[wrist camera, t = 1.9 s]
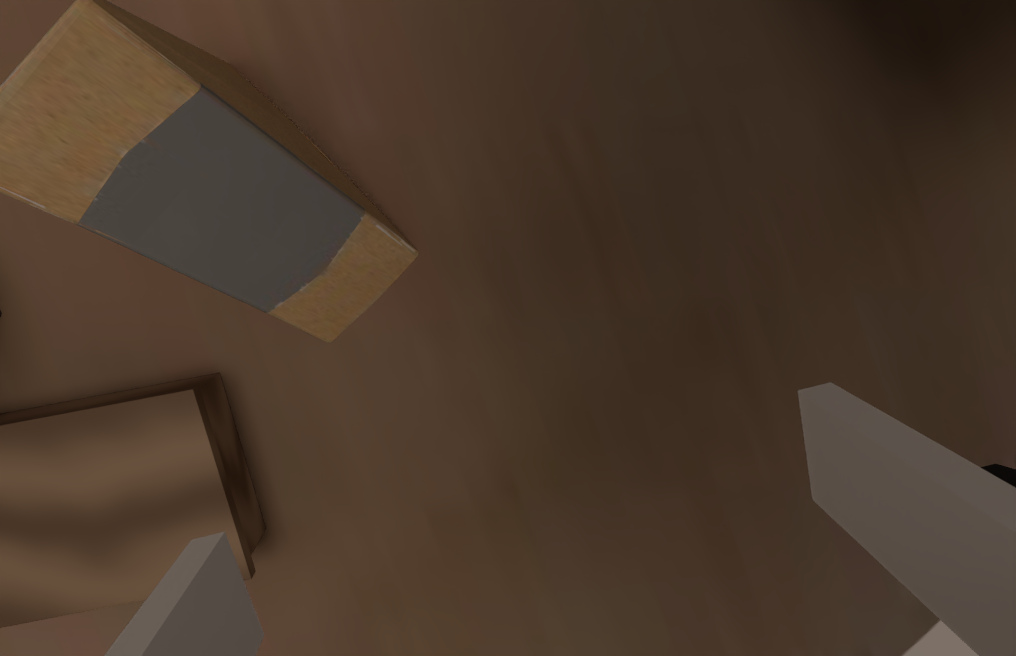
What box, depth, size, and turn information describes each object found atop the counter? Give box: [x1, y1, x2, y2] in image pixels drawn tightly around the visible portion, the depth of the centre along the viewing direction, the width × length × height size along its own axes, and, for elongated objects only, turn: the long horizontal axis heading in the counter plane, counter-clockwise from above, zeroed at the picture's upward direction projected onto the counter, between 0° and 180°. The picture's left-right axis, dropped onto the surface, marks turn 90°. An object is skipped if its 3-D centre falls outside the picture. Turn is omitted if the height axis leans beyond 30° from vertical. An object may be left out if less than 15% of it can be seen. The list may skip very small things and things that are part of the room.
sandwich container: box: [0, 0, 419, 343], centre depth 32 cm, size 9×15×15 cm, turn 44°
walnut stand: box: [0, 373, 266, 628], centre depth 40 cm, size 12×19×5 cm, turn 100°
